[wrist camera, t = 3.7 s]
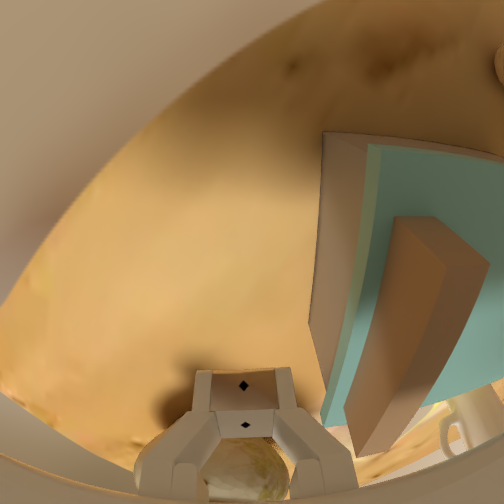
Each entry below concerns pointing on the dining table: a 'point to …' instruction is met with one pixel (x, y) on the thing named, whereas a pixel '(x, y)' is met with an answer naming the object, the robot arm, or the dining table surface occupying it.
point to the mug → (472, 418)
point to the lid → (419, 292)
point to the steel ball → (500, 63)
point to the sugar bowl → (236, 470)
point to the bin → (346, 229)
